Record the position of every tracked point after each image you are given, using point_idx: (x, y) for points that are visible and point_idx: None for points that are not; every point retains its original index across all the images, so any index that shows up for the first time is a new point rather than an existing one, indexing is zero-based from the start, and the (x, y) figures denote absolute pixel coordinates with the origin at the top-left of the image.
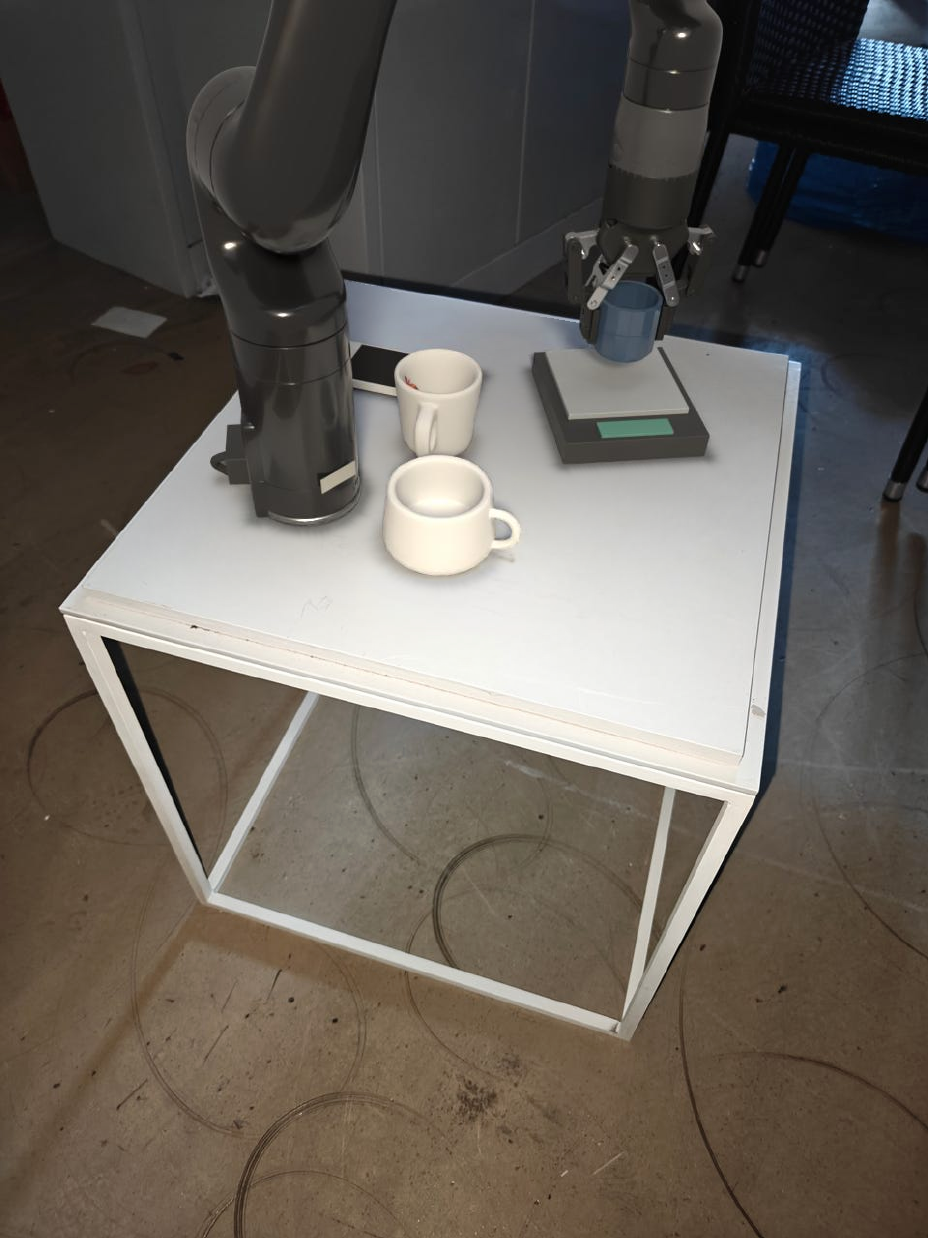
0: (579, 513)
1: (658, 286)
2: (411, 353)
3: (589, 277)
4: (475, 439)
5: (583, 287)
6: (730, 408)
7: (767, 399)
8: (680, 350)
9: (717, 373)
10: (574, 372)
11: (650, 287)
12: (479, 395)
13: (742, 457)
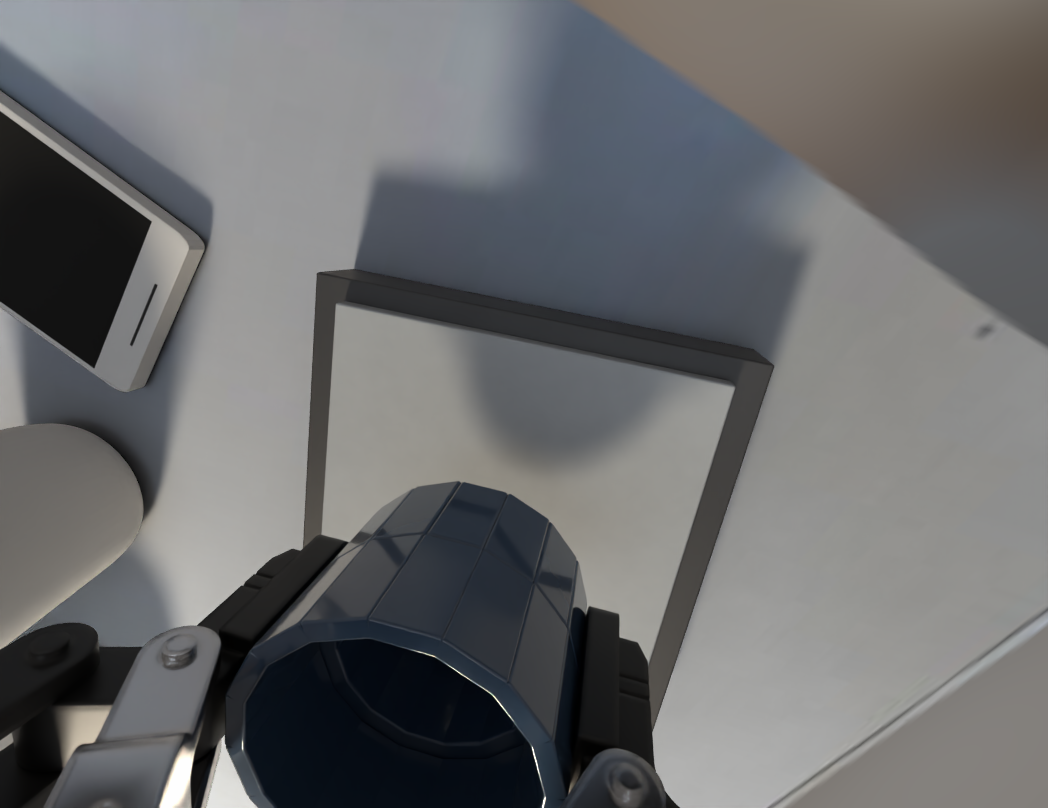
0: None
1: (577, 781)
2: (3, 110)
3: (105, 721)
4: (168, 497)
5: (95, 729)
6: (832, 601)
7: (979, 604)
8: (904, 275)
9: (930, 442)
10: (388, 450)
11: (534, 753)
12: (25, 615)
13: (723, 751)
